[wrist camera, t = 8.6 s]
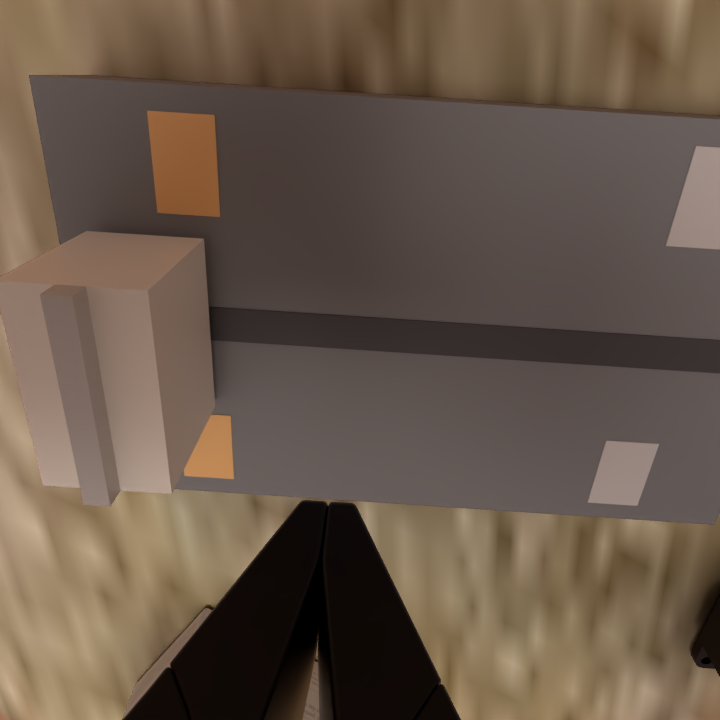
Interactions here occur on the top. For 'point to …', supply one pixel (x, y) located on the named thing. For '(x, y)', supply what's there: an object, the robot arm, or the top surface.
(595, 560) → the top surface
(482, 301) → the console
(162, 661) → the supplement box
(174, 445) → the fader
